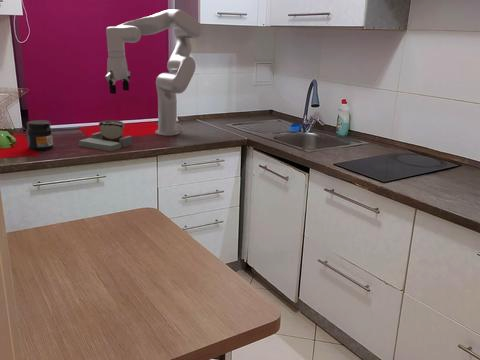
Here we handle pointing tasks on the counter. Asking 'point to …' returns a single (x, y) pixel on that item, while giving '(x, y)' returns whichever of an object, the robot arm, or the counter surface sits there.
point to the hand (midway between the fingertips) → (119, 91)
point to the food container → (111, 130)
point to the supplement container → (39, 135)
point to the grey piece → (105, 142)
